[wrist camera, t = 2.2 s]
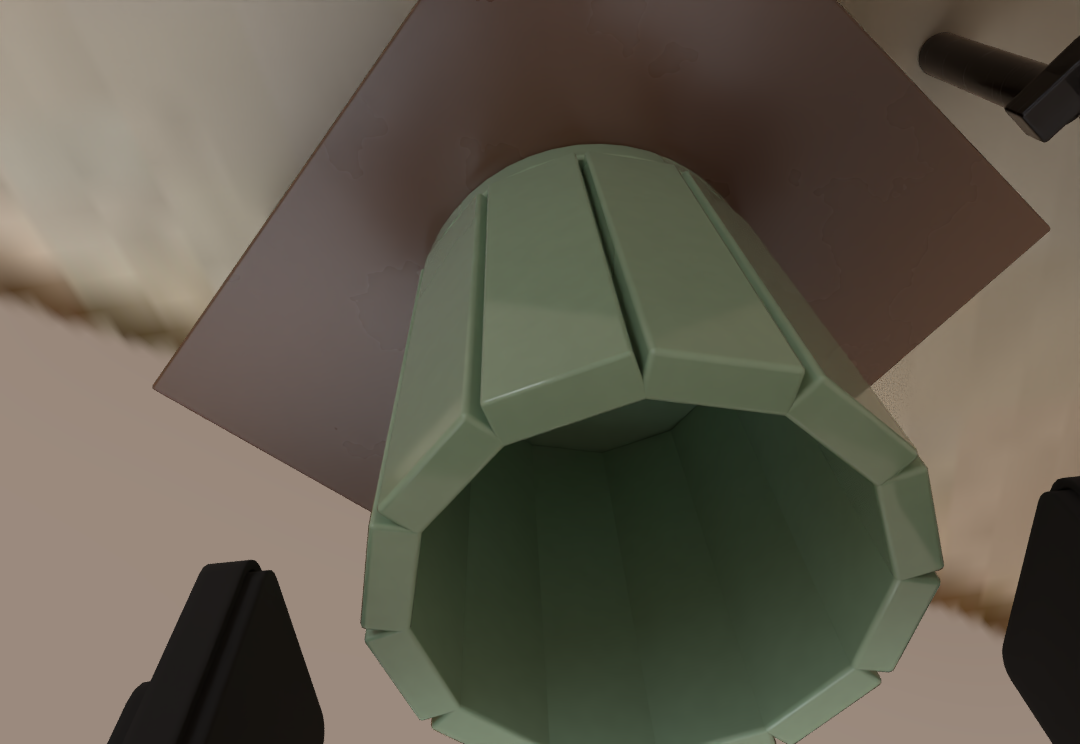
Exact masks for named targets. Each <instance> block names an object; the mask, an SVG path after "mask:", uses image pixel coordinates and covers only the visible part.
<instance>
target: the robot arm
mask: <svg viewBox="0 0 1080 744" xmlns="http://www.w3.org/2000/svg"><path fill="white" fill-rule="evenodd" d="M1002 654H1003V661H1004V665H1005V668H1006V671H1007V673H1008V675H1009V677H1010V679H1011V681H1012V682H1013V684H1014V685H1015V687H1016V688H1017V690H1018V691H1019V693H1020V694H1021V696H1022V698H1023V699H1024V701H1025V702H1026V704H1027V705H1028V707H1029V708H1030V710H1031V711H1032V713H1033V714H1034V716H1035V718H1036V719H1037V721H1038V722H1039V724H1040V725H1041V727H1042V728H1043V730H1044V731H1045V733H1046V734H1047V736H1048V737H1049V739H1050V740H1051V742H1052V744H1080V476H1077V477H1067V478H1061V479H1058V480H1057V481H1056V482H1055V483H1054V484H1053V485H1052V488H1051V490H1050V492H1045V493H1043V494H1042V495H1041V496H1040V499H1039V501H1038V505H1037V509H1036V513H1035V517H1034V521H1033V525H1032V529H1031V533H1030V537H1029V541H1028V545H1027V549H1026V554H1025V558H1024V562H1023V566H1022V570H1021V574H1020V578H1019V582H1018V586H1017V590H1016V594H1015V598H1014V602H1013V606H1012V610H1011V614H1010V618H1009V622H1008V626H1007V631H1006V635H1005V639H1004V643H1003V649H1002ZM323 742H324V719H323V714H322V711H321V708H320V705H319V702H318V699H317V696H316V693H315V690H314V687H313V684H312V681H311V678H310V675H309V672H308V669H307V666H306V663H305V661H304V657H303V655H302V652H301V649H300V646H299V643H298V640H297V637H296V634H295V631H294V628H293V625H292V622H291V619H290V616H289V613H288V611H287V607H286V604H285V601H284V599H283V595H282V592H281V590H280V587H279V584H278V581H277V578H276V576H275V573H274V572H273V571H272V570H266V571H262V570H261V568H260V566H259V564H258V563H257V562H256V561H255V560H245V561H235V562H226V563H216V564H208V565H206V566H205V567H203V569H202V571H201V572H200V574H199V576H198V578H197V580H196V582H195V585H194V587H193V589H192V591H191V593H190V596H189V598H188V600H187V602H186V604H185V607H184V609H183V611H182V613H181V615H180V617H179V620H178V622H177V624H176V626H175V629H174V631H173V633H172V635H171V637H170V639H169V642H168V644H167V646H166V648H165V650H164V653H163V655H162V657H161V659H160V661H159V664H158V666H157V668H156V670H155V673H154V675H153V677H152V679H151V681H149V682H144V683H142V684H141V685H140V686H138V687H137V688H136V689H135V690H134V692H133V693H132V695H131V696H130V698H129V700H128V701H127V703H126V705H125V707H124V709H123V711H122V714H121V716H120V718H119V720H118V722H117V724H116V726H115V728H114V730H113V733H112V735H111V737H110V739H109V741H108V743H107V744H323Z"/></svg>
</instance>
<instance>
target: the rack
mask: <svg viewBox="0 0 1080 744" xmlns="http://www.w3.org/2000/svg"><path fill="white" fill-rule="evenodd" d="M919 63H920V67H921V69H922V70H923V71H924V72H925V73H926V74H928V75H930V76H933V77H935V78H937V79H940V80H942V81H944V82H946V83H949V84H951V85H953V86H956V87H958V88H960V89H963V90H965V91H967V92H969V93H972V94H974V95H976V96H979V97H981V98H983V99H985V100H988V101H990V102H992V103H995V104H997V105H999V106H1002V107H1004V109H1005V111H1006V112H1007V114H1008V115H1009V116H1010V117H1011V118H1012V119H1013V120H1014V121H1015V122H1016V124H1017V125H1018V126H1019V127H1020V128H1021V129H1022V130H1023V131H1024V132H1025V134H1026V135H1029V136H1031V137H1033V138H1035V139H1037V140H1039V141H1041V142H1047V141H1049V140H1050V139H1051V138H1052V137H1053V136H1054V135H1055V134H1056V133H1057V132H1058V131H1060V130H1061V129H1062V128H1063V127H1064V126H1065V125H1066V124H1068V123H1070V122H1072V121H1073V120H1075V119H1076V118H1077V117H1079V118H1080V36H1079V37H1078V38H1076V39H1075V40H1074V41H1073V42H1072V43H1071V44H1070V45H1069V46H1068V47H1067V48H1066V49H1065V50H1064V51H1062V52H1061V53H1060V54H1059V55H1058V56H1057V57H1056V58H1055V59H1054V60H1053V61H1052V62H1051V63H1050V64H1049V65H1048V64H1045V63H1042V62H1038V61H1035V60H1032V59H1029V58H1026V57H1023V56H1020V55H1017V54H1014V53H1011V52H1007V51H1004V50H1001V49H998V48H995V47H992V46H989V45H986V44H983V43H979V42H976V41H973V40H970V39H967V38H964V37H961V36H958V35H955V34H952V33H947V32H943V33H938V34H936V35H934V36H932V37H931V38H930V39H928V40H927V41H926V43H925V44H924V45H923V47H922V49H921V51H920V55H919Z"/></svg>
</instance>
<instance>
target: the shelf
mask: <svg viewBox="0 0 1080 744" xmlns="http://www.w3.org/2000/svg"><path fill="white" fill-rule="evenodd" d="M585 144H610V145H621V146H628V147H633V148H637V149H642V150H646V151H650V152H653V153H655V154H658V155H661V156H663V157H666V158H669V159H671V160H673V161H675V162H677V163H679V164H680V165H682V166H684V167H686V168H688V169H690V170H691V171H693V172H694V173H695V174H697V175H698V176H699V177H701V178H702V179H703V180H705V181H706V182H707V183H709V184H710V185H711V186H712V187H713V188H714V189H715V190H716V191H717V192H718V193H719V194H720V195H721V196H722V197H723V198H724V199H725V200H726V202H727V203H728V204H729V206H730V207H731V208H732V209H733V210H734V211H735V212H736V213H737V214H739V215H740V216H741V217H742V218H743V219H744V220H746V221H747V222H748V223H749V225H750V226H751V227H752V229H753V230H754V231H755V233H756V234H757V235H758V237H759V238H760V239H761V241H762V242H763V244H764V245H765V246H766V248H767V249H768V250H769V252H770V253H771V254H772V256H773V257H774V258H775V260H776V261H777V262H778V264H779V265H780V266H781V268H782V269H783V270H784V272H785V273H786V274H787V276H788V277H789V278H790V280H791V281H792V282H793V284H794V285H795V287H796V288H797V289H798V291H799V292H800V293H801V295H802V296H803V297H804V299H805V300H806V301H807V303H808V304H809V305H810V307H811V308H812V309H813V311H814V312H815V313H816V315H817V316H818V317H819V319H820V320H821V321H822V323H823V324H824V325H825V327H826V328H827V330H828V331H829V332H830V334H831V335H832V336H833V338H834V339H835V340H836V342H837V343H838V344H839V346H840V347H841V348H842V350H843V351H844V352H845V354H846V355H847V356H848V358H849V359H850V360H851V362H852V363H853V364H854V366H855V367H856V368H857V370H858V371H859V373H860V374H861V375H862V377H863V378H864V379H865V381H866V382H867V383H868V385H869V386H871V385H872V384H873V383H874V382H876V381H877V380H878V379H879V378H880V377H881V376H883V375H884V374H885V373H886V372H887V371H888V370H889V369H891V368H892V367H893V366H894V365H895V364H896V363H898V362H899V361H900V360H901V359H902V358H903V357H904V356H906V355H907V354H908V353H909V352H910V351H911V350H913V349H914V348H915V347H916V346H917V345H918V344H919V343H921V342H922V341H923V340H924V339H925V338H926V337H928V336H929V335H930V334H931V333H932V332H933V331H934V330H936V329H937V328H938V327H939V326H940V325H941V324H943V323H944V322H945V321H946V320H947V319H948V318H949V317H951V316H952V315H953V314H954V313H955V312H956V311H958V310H959V309H960V308H961V307H962V306H963V305H964V304H966V303H967V302H968V301H969V300H970V299H971V298H973V297H974V296H975V295H976V294H977V293H978V292H979V291H981V290H982V289H983V288H984V287H985V286H986V285H987V284H989V283H990V282H991V281H992V280H993V279H994V278H996V277H997V276H998V275H999V274H1000V273H1001V272H1002V271H1004V270H1005V269H1006V268H1007V267H1008V266H1009V265H1011V264H1012V263H1013V262H1014V261H1015V260H1016V259H1017V258H1019V257H1020V256H1021V255H1022V254H1023V253H1024V252H1026V251H1027V250H1028V249H1029V248H1030V247H1031V246H1032V245H1034V244H1035V243H1036V242H1037V241H1038V240H1039V239H1041V238H1042V237H1043V236H1044V235H1045V234H1046V233H1047V232H1049V231H1050V227H1049V226H1048V224H1047V223H1046V222H1045V221H1044V220H1043V219H1042V218H1041V217H1040V216H1039V215H1038V214H1037V213H1036V212H1035V211H1034V210H1033V209H1032V207H1031V206H1030V205H1029V204H1028V203H1027V202H1026V201H1025V200H1024V199H1023V198H1022V197H1021V196H1020V195H1019V194H1018V193H1017V192H1016V191H1015V189H1014V188H1013V187H1012V186H1011V185H1010V184H1009V183H1008V182H1007V181H1006V180H1005V179H1004V178H1003V177H1002V176H1001V175H1000V174H999V172H998V171H997V170H996V169H995V168H994V167H993V166H992V165H991V164H990V163H989V162H988V161H987V160H986V159H985V158H984V157H983V156H982V154H981V153H980V152H979V151H978V150H977V149H976V148H975V147H974V146H973V145H972V144H971V143H970V142H969V141H968V140H967V139H966V137H965V136H964V135H963V134H962V133H961V132H960V131H959V130H958V129H957V128H956V127H955V126H954V125H953V124H952V123H951V122H950V121H949V119H948V118H947V117H946V116H945V115H944V114H943V113H942V112H941V111H940V110H939V109H938V108H937V107H936V106H935V105H934V104H933V102H932V101H931V100H930V99H929V98H928V97H927V96H926V95H925V94H924V93H923V92H922V91H921V90H920V89H919V88H918V87H917V86H916V84H915V83H914V82H913V81H912V80H911V79H910V78H909V77H908V76H907V75H906V74H905V73H904V72H903V71H902V70H901V69H900V67H899V66H898V65H897V64H896V63H895V62H894V61H893V60H892V59H891V58H890V57H889V56H888V55H887V54H886V53H885V52H884V51H883V49H882V48H881V47H880V46H879V45H878V44H877V43H876V42H875V41H874V40H873V39H872V38H871V37H870V36H869V35H868V34H867V32H866V31H865V30H864V29H863V28H862V27H861V26H860V25H859V24H858V23H857V22H856V21H855V20H854V19H853V18H852V17H851V16H850V14H849V13H848V12H847V11H846V10H845V9H844V8H843V7H842V6H841V5H840V4H839V3H838V2H837V1H836V0H418V1H417V3H416V4H415V6H414V7H413V9H412V10H411V12H410V13H409V14H408V16H407V17H406V19H405V20H404V22H403V23H402V25H401V26H400V28H399V29H398V30H397V32H396V33H395V35H394V36H393V38H392V39H391V41H390V42H389V43H388V45H387V46H386V48H385V49H384V51H383V52H382V54H381V55H380V57H379V58H378V59H377V61H376V62H375V64H374V65H373V67H372V68H371V70H370V71H369V72H368V74H367V75H366V77H365V78H364V80H363V81H362V83H361V84H360V86H359V87H358V88H357V90H356V91H355V93H354V94H353V96H352V97H351V99H350V100H349V102H348V103H347V104H346V106H345V107H344V109H343V110H342V112H341V113H340V115H339V116H338V117H337V119H336V120H335V122H334V123H333V125H332V126H331V128H330V129H329V131H328V132H327V133H326V135H325V136H324V138H323V139H322V141H321V142H320V144H319V145H318V146H317V148H316V149H315V151H314V152H313V154H312V155H311V157H310V158H309V160H308V161H307V162H306V164H305V165H304V167H303V168H302V170H301V171H300V173H299V174H298V176H297V177H296V178H295V180H294V181H293V183H292V184H291V186H290V187H289V189H288V190H287V191H286V193H285V194H284V196H283V197H282V199H281V200H280V202H279V203H278V205H277V206H276V207H275V209H274V210H273V212H272V213H271V215H270V216H269V218H268V219H267V220H266V222H265V223H264V225H263V226H262V228H261V229H260V231H259V232H258V234H257V235H256V236H255V238H254V239H253V241H252V242H251V244H250V245H249V247H248V248H247V249H246V251H245V252H244V254H243V255H242V257H241V258H240V260H239V261H238V263H237V264H236V265H235V267H234V268H233V270H232V271H231V273H230V274H229V276H228V277H227V279H226V280H225V281H224V283H223V284H222V286H221V287H220V289H219V290H218V292H217V293H216V294H215V296H214V297H213V299H212V300H211V302H210V303H209V305H208V306H207V308H206V309H205V310H204V312H203V313H202V315H201V316H200V318H199V319H198V321H197V322H196V323H195V325H194V326H193V328H192V329H191V331H190V332H189V334H188V335H187V337H186V338H185V339H184V341H183V342H182V344H181V345H180V347H179V348H178V350H177V351H176V353H175V354H174V355H173V357H172V358H171V360H170V361H169V363H168V364H167V366H166V367H165V368H164V370H163V371H162V373H161V374H160V376H159V377H158V379H157V380H156V382H155V383H154V384H153V389H154V390H156V391H157V392H159V393H161V394H163V395H165V396H166V397H168V398H170V399H172V400H173V401H175V402H177V403H179V404H181V405H182V406H184V407H186V408H188V409H189V410H191V411H193V412H195V413H196V414H199V415H200V416H202V417H204V418H205V419H207V420H209V421H211V422H212V423H214V424H216V425H218V426H220V427H221V428H223V429H225V430H227V431H228V432H230V433H232V434H234V435H236V436H237V437H239V438H241V439H243V440H244V441H246V442H248V443H250V444H251V445H253V446H255V447H257V448H259V449H260V450H262V451H264V452H266V453H267V454H269V455H271V456H273V457H274V458H276V459H278V460H280V461H282V462H284V463H285V464H287V465H289V466H290V467H292V468H294V469H296V470H298V471H299V472H301V473H303V474H305V475H306V476H308V477H310V478H312V479H314V480H315V481H317V482H319V483H321V484H322V485H324V486H326V487H328V488H330V489H331V490H333V491H335V492H337V493H338V494H340V495H342V496H344V497H345V498H347V499H349V500H351V501H353V502H354V503H356V504H358V505H360V506H361V507H363V508H365V509H367V510H369V511H370V512H371V511H372V506H373V501H374V496H375V491H376V486H377V481H378V477H379V472H380V467H381V462H382V457H383V452H384V447H385V442H386V437H387V432H388V428H389V423H390V418H391V413H392V408H393V403H394V398H395V393H396V388H397V383H398V379H399V374H400V369H401V364H402V359H403V354H404V349H405V344H406V339H407V334H408V329H409V325H410V320H411V315H412V310H413V305H414V300H415V295H416V290H417V285H418V280H419V276H420V271H421V270H422V269H424V266H425V261H426V257H427V256H428V255H429V253H430V250H431V248H432V246H433V244H434V242H435V240H436V238H437V236H438V234H439V232H440V230H441V228H442V227H443V226H444V224H445V223H446V221H447V220H448V218H449V217H450V215H451V214H452V212H453V211H454V210H455V209H456V208H457V207H458V206H459V205H460V204H461V202H462V201H463V200H464V199H465V198H466V197H467V196H468V195H469V194H470V193H471V192H472V191H474V190H475V189H476V188H477V187H478V186H480V185H481V184H482V183H483V182H484V181H486V180H487V179H488V178H490V177H492V176H493V175H495V174H496V173H498V172H499V171H501V170H503V169H504V168H506V167H507V166H510V165H512V164H514V163H516V162H518V161H520V160H523V159H525V158H527V157H529V156H532V155H535V154H539V153H542V152H545V151H548V150H551V149H556V148H562V147H567V146H573V145H585Z"/></svg>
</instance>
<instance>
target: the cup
mask: <svg viewBox="0 0 1080 744" xmlns="http://www.w3.org/2000/svg"><path fill="white" fill-rule="evenodd" d="M367 538H368V539H367V549H366V562H365V574H364V586H363V598H362V610H361V622H360V623H361V626H362V628H364V629H366V634H365V643H366V644H367V646H368V647H369V648H370V650H371V651H372V653H373V654H374V656H375V657H376V658H377V660H378V661H379V662H380V664H381V666H382V667H383V668H384V670H385V671H386V673H387V674H388V675H389V677H390V678H391V680H392V681H393V683H394V684H395V686H396V687H397V688H398V690H399V691H400V693H401V694H402V696H403V697H404V698H405V700H406V701H407V703H408V704H409V706H410V707H411V708H412V710H413V711H414V713H415V714H416V716H417V717H418V718H419V720H426V719H429V718H432V720H431V726H432V728H433V729H434V730H435V731H437V732H440V733H442V734H444V735H446V736H448V737H450V738H452V739H454V740H456V741H459V742H461V743H463V744H776V741H775V738H777V739H779V740H781V741H782V742H784V743H786V744H796V743H797V742H798V741H800V740H801V739H803V738H804V737H806V736H807V735H808V734H810V733H811V732H813V731H814V730H815V729H817V728H819V727H820V726H821V725H823V724H824V723H826V722H827V721H829V720H830V719H831V718H833V717H834V716H836V715H837V714H839V713H840V712H841V711H843V710H844V709H846V708H847V707H849V706H850V705H851V704H853V703H854V702H856V701H857V700H859V699H860V698H862V697H863V696H864V695H866V694H867V693H869V692H870V691H871V690H873V689H875V688H876V687H877V686H879V685H880V683H881V678H880V676H879V674H878V672H891V671H893V670H894V669H895V667H896V665H897V663H898V661H899V659H900V658H901V656H902V654H903V652H904V650H905V648H906V647H907V645H908V643H909V641H910V639H911V637H912V635H913V634H914V632H915V630H916V628H917V626H918V625H919V622H920V621H921V619H922V617H923V615H924V613H925V612H926V610H927V608H928V606H929V604H930V602H931V601H932V599H933V597H934V595H935V593H936V591H937V590H938V588H939V586H940V578H939V576H938V575H937V573H936V572H935V571H939V570H941V569H942V568H943V567H944V561H943V555H942V549H941V543H940V538H939V532H938V526H937V520H936V514H935V508H934V502H933V496H932V490H931V484H930V478H929V473H928V468H927V466H926V465H925V464H924V462H923V461H922V460H921V458H920V457H919V455H918V452H917V449H916V448H915V446H914V445H913V444H912V442H911V441H910V440H909V438H908V437H907V436H906V434H905V433H904V432H903V430H902V429H901V428H900V426H899V425H898V424H897V422H896V421H895V420H894V418H893V417H892V416H891V414H890V413H889V411H888V410H887V409H886V407H885V406H884V405H883V403H882V402H881V401H880V399H879V398H878V397H877V395H876V394H875V393H874V391H873V390H872V389H871V387H870V386H869V385H868V383H867V382H866V381H865V379H864V378H863V377H862V375H861V374H860V373H859V371H858V370H857V368H856V367H855V366H854V364H853V363H852V362H851V360H850V359H849V358H848V356H847V355H846V354H845V352H844V351H843V350H842V348H841V347H840V346H839V344H838V343H837V342H836V340H835V339H834V338H833V336H832V335H831V334H830V332H829V331H828V330H827V328H826V327H825V325H824V324H823V323H822V321H821V320H820V319H819V317H818V316H817V315H816V313H815V312H814V311H813V309H812V308H811V307H810V305H809V304H808V303H807V301H806V300H805V299H804V297H803V296H802V295H801V293H800V292H799V291H798V289H797V288H796V287H795V285H794V284H793V282H792V281H791V280H790V278H789V277H788V276H787V274H786V273H785V272H784V270H783V269H782V268H781V266H780V265H779V264H778V262H777V261H776V260H775V258H774V257H773V256H772V254H771V253H770V252H769V250H768V249H767V248H766V246H765V245H764V244H763V242H762V241H761V239H760V238H759V237H758V235H757V234H756V233H755V231H754V230H753V229H752V227H751V226H750V225H749V223H748V222H747V221H746V220H744V219H743V218H742V217H741V216H740V215H739V214H737V213H736V212H735V211H734V210H733V209H732V208H731V207H730V206H729V204H728V203H727V202H726V200H725V199H724V198H723V197H722V196H721V195H720V194H719V193H718V192H717V191H716V190H715V189H714V188H713V187H712V186H711V185H710V184H709V183H707V182H706V181H705V180H703V179H702V178H701V177H699V176H698V175H697V174H695V173H694V172H693V171H691V170H690V169H688V168H686V167H684V166H682V165H680V164H679V163H677V162H675V161H673V160H671V159H669V158H666V157H663V156H661V155H658V154H655V153H653V152H650V151H646V150H642V149H637V148H633V147H628V146H621V145H610V144H585V145H573V146H567V147H562V148H556V149H551V150H548V151H545V152H542V153H539V154H535V155H532V156H529V157H527V158H525V159H523V160H520V161H518V162H516V163H514V164H512V165H510V166H507V167H506V168H504V169H503V170H501V171H499V172H498V173H496V174H495V175H493V176H492V177H490V178H488V179H487V180H486V181H484V182H483V183H482V184H481V185H480V186H478V187H477V188H476V189H475V190H474V191H472V192H471V193H470V194H469V195H468V196H467V197H466V198H465V199H464V200H463V201H462V202H461V204H460V205H459V206H458V207H457V208H456V209H455V210H454V211H453V212H452V214H451V215H450V217H449V218H448V220H447V221H446V223H445V224H444V226H443V227H442V228H441V230H440V232H439V234H438V236H437V238H436V240H435V242H434V244H433V246H432V248H431V250H430V253H429V255H428V256H427V257H426V261H425V266H424V269H422V270H421V271H420V276H419V280H418V285H417V290H416V295H415V300H414V305H413V310H412V315H411V320H410V325H409V329H408V334H407V339H406V344H405V349H404V354H403V359H402V364H401V369H400V374H399V379H398V383H397V388H396V393H395V398H394V403H393V408H392V413H391V418H390V423H389V428H388V432H387V437H386V442H385V447H384V452H383V457H382V462H381V467H380V472H379V477H378V481H377V486H376V491H375V496H374V501H373V506H372V511H371V516H370V521H369V526H368V537H367ZM877 671H878V672H877ZM774 737H775V738H774Z"/></svg>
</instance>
